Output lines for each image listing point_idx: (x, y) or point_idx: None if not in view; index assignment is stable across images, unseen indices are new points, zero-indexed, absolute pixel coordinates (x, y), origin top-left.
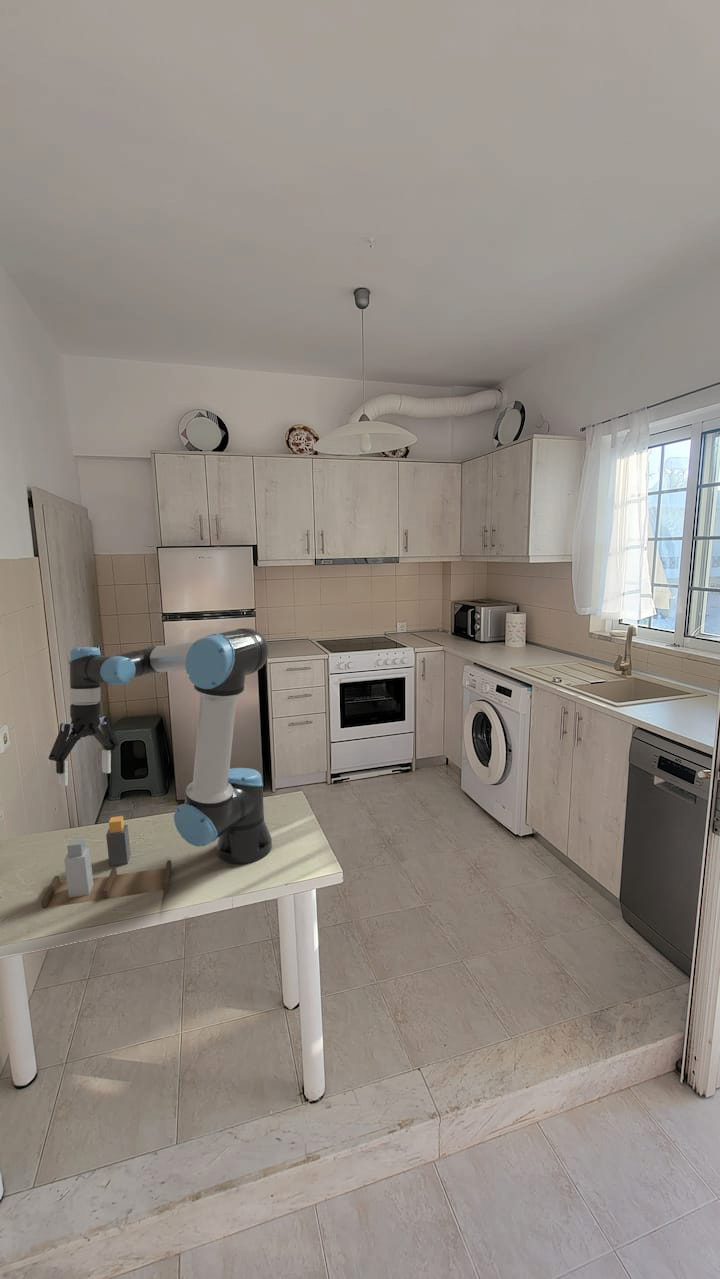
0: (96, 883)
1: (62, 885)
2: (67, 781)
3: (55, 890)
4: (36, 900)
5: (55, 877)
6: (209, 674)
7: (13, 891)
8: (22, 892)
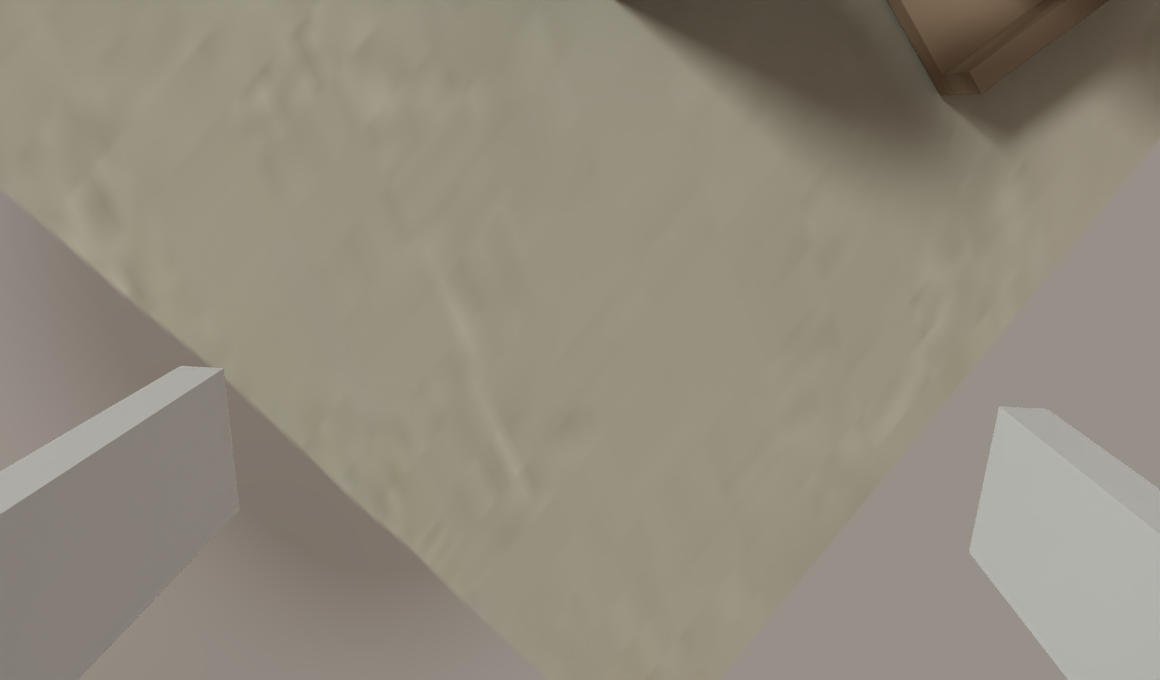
0: None
1: (961, 32)
2: (1037, 433)
3: (1019, 18)
4: (1056, 95)
5: (991, 75)
6: None
7: (1017, 294)
8: (1014, 240)
